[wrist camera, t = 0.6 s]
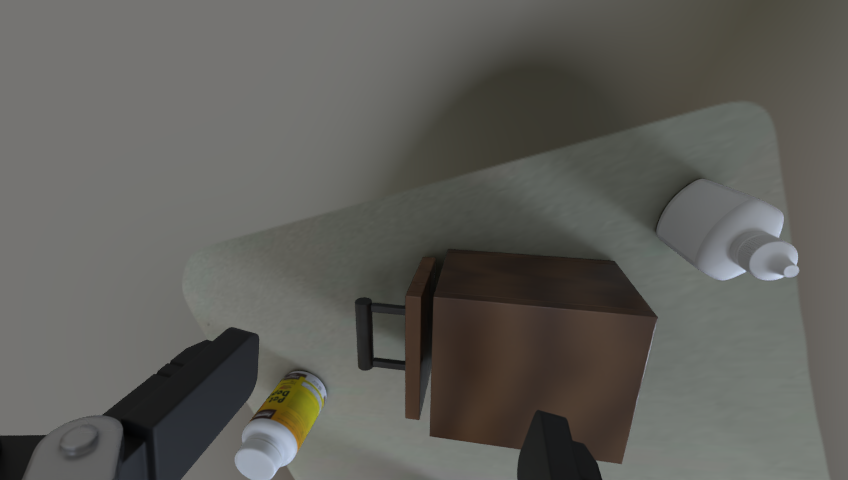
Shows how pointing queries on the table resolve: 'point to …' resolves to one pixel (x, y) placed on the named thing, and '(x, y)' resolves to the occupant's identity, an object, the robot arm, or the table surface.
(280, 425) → the supplement bottle
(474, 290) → the cabinet
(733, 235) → the eye dropper bottle
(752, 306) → the table surface
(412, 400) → the drawer
